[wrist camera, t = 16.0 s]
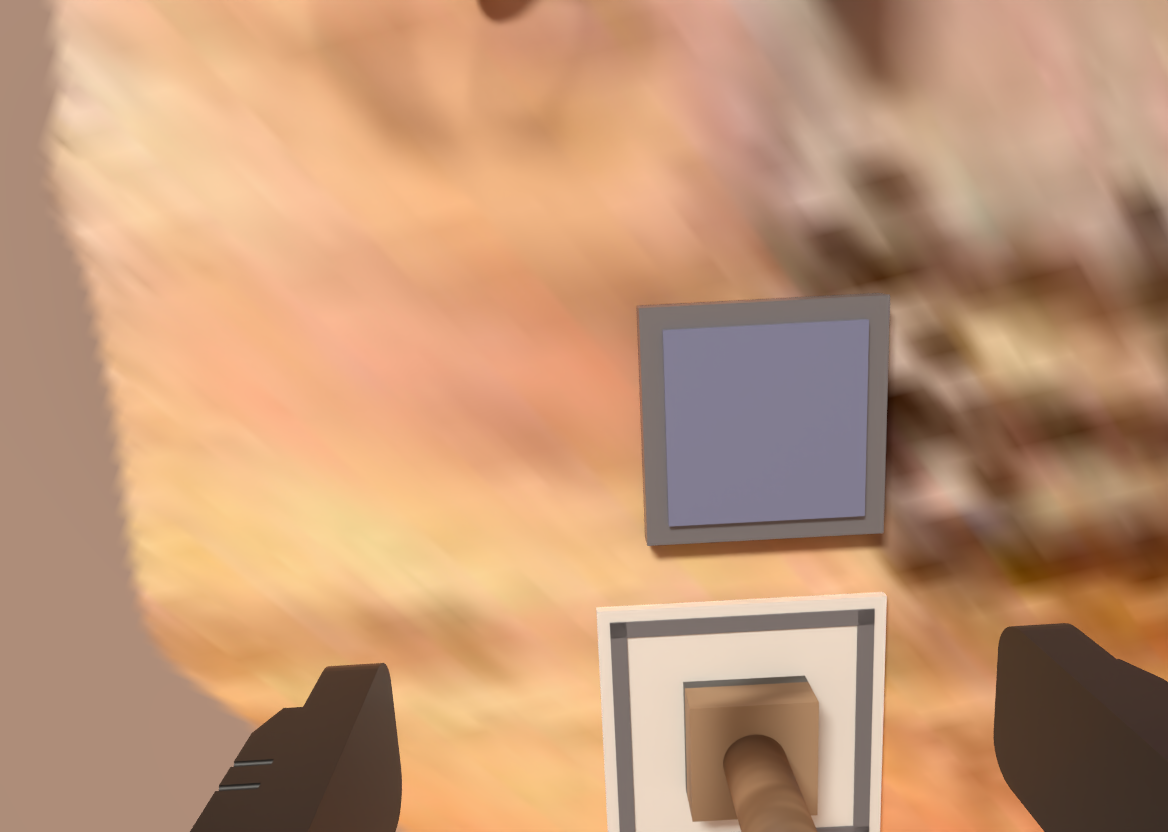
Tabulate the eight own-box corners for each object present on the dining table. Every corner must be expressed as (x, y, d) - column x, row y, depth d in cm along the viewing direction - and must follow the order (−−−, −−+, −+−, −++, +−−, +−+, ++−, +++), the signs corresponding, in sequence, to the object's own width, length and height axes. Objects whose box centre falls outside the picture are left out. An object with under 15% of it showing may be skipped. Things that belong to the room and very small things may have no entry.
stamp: (804, 675, 41) (873, 805, 32) (803, 783, 43) (869, 938, 33) (683, 682, 41) (716, 813, 32) (685, 789, 43) (718, 946, 33)
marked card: (883, 591, 41) (887, 597, 41) (876, 840, 44) (880, 849, 44) (596, 607, 41) (596, 612, 40) (609, 855, 44) (609, 864, 43)
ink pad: (880, 293, 38) (892, 295, 37) (874, 524, 40) (885, 535, 39) (636, 305, 38) (639, 308, 36) (645, 536, 40) (648, 548, 39)
